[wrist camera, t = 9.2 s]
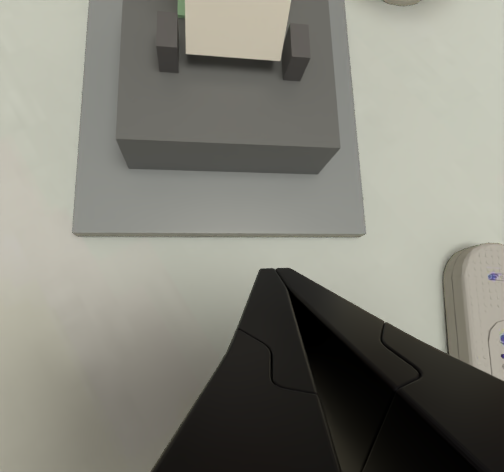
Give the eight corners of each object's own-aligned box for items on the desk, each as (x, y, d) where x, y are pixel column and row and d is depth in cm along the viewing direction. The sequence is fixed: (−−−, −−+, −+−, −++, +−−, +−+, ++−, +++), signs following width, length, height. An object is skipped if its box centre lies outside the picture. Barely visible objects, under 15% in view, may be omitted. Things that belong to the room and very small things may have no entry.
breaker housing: (359, 237, 25) (419, 207, 19) (77, 236, 23) (27, 201, 16) (339, 9, 29) (383, -84, 22) (94, -15, 26) (60, -130, 20)
